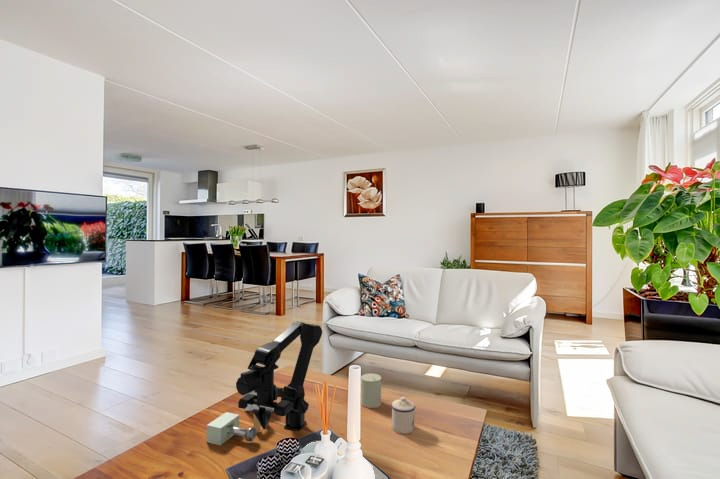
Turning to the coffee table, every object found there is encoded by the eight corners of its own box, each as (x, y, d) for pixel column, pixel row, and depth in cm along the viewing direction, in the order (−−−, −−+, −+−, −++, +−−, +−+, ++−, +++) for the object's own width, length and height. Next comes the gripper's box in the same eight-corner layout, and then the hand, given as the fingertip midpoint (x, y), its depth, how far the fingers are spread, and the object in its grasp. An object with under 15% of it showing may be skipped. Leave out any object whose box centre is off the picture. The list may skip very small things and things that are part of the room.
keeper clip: (268, 424, 135) (268, 407, 136) (258, 432, 129) (258, 415, 129) (263, 423, 136) (263, 406, 136) (253, 431, 130) (253, 414, 130)
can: (367, 410, 148) (367, 381, 148) (356, 401, 156) (357, 374, 156) (385, 405, 152) (385, 377, 153) (374, 396, 160) (374, 370, 160)
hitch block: (239, 430, 131) (239, 414, 131) (220, 445, 121) (220, 428, 121) (226, 427, 133) (226, 412, 133) (206, 442, 123) (206, 425, 123)
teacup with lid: (418, 433, 130) (418, 402, 130) (394, 435, 129) (394, 403, 129) (408, 417, 142) (409, 388, 142) (387, 418, 141) (387, 390, 141)
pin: (256, 437, 125) (256, 425, 125) (248, 444, 121) (248, 431, 121) (227, 431, 129) (227, 419, 129) (219, 437, 125) (219, 425, 125)
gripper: (300, 379, 126) (299, 422, 126) (256, 372, 132) (256, 413, 132) (284, 391, 115) (283, 438, 115) (237, 383, 121) (236, 428, 121)
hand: (264, 428), depth 121 cm, fingers closed
